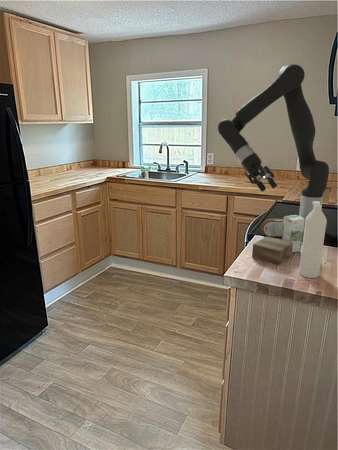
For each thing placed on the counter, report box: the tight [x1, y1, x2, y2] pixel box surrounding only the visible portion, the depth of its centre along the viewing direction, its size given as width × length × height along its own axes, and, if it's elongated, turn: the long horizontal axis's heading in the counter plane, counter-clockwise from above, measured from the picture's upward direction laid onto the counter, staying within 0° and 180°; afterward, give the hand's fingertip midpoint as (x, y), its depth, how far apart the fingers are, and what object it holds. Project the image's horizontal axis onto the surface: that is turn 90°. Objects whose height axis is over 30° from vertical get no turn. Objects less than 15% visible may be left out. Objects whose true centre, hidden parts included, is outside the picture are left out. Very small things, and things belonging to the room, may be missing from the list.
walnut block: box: [251, 236, 293, 266], centre depth 127 cm, size 11×11×6 cm
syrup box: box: [280, 214, 305, 254], centre depth 131 cm, size 6×6×14 cm
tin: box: [260, 217, 284, 238], centre depth 147 cm, size 15×3×8 cm, turn 84°
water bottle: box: [298, 201, 328, 279], centre depth 111 cm, size 9×6×25 cm
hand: (269, 188), depth 133 cm, fingers open, 8 cm apart
